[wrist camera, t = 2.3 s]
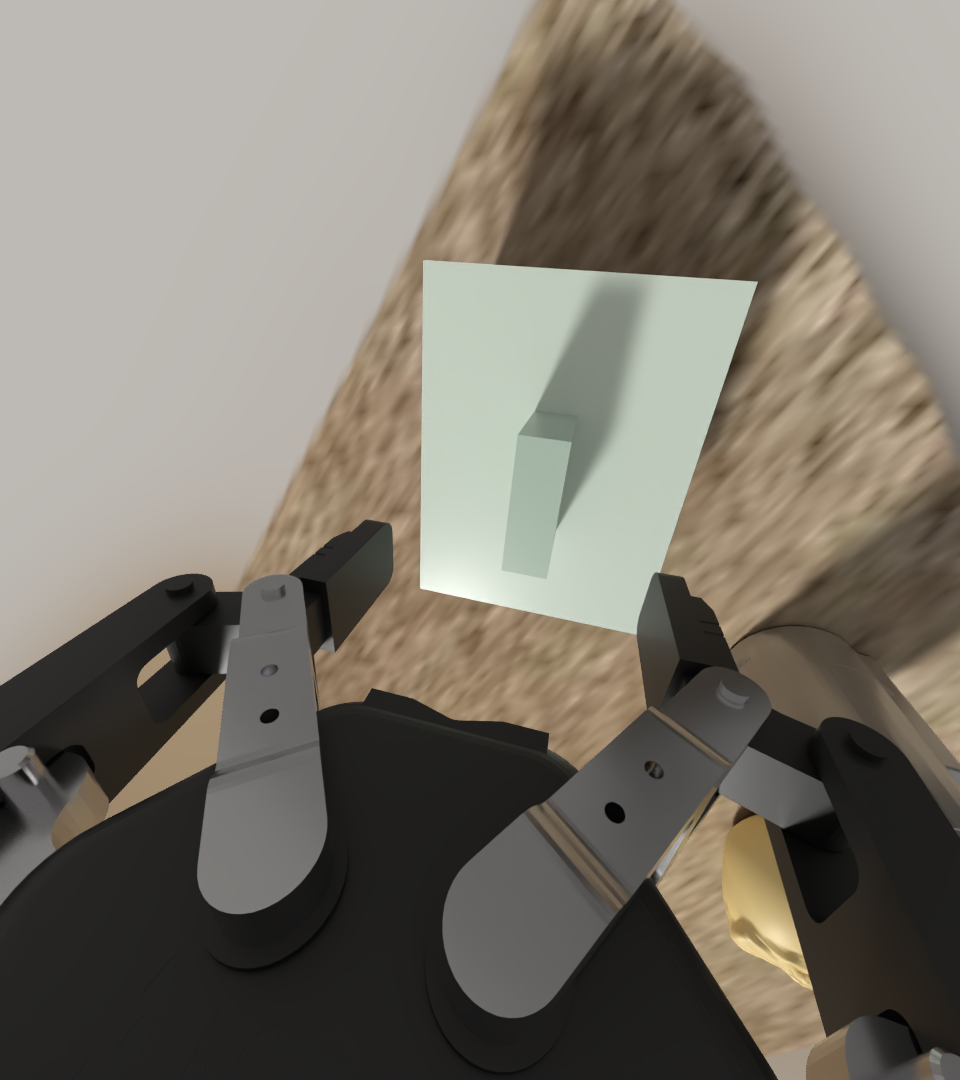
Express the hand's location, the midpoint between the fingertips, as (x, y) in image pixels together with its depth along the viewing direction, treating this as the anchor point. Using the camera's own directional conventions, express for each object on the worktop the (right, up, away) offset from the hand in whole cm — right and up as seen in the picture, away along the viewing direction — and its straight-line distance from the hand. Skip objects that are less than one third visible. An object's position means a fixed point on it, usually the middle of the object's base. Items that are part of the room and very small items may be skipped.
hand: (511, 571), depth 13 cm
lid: (+3, +5, +10) cm, 11 cm away
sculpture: (+28, -28, +28) cm, 49 cm away
